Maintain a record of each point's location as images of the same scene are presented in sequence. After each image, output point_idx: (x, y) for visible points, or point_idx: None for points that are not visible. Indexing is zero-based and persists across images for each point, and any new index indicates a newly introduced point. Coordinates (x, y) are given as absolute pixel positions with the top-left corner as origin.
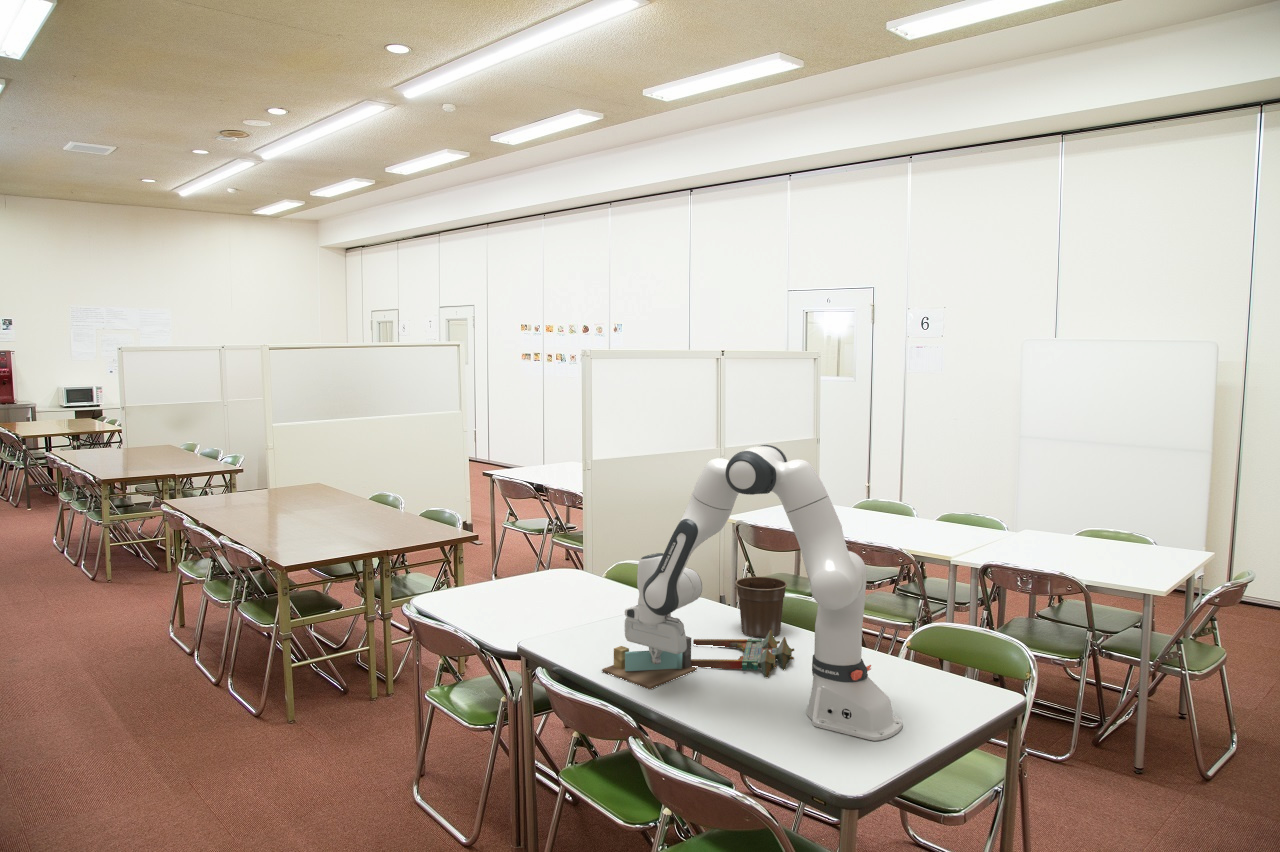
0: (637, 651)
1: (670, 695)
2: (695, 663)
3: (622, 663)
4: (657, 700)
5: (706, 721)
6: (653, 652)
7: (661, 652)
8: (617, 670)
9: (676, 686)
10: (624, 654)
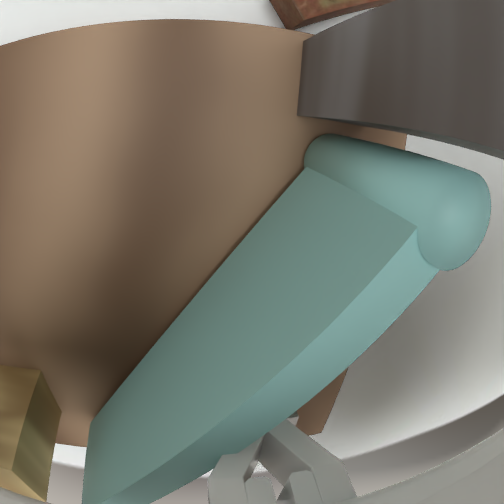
0: (115, 499)
1: (402, 391)
2: (375, 2)
3: (53, 431)
4: (376, 430)
5: (490, 385)
6: (246, 479)
7: (325, 451)
8: (65, 424)
9: (399, 334)
10: (37, 465)
